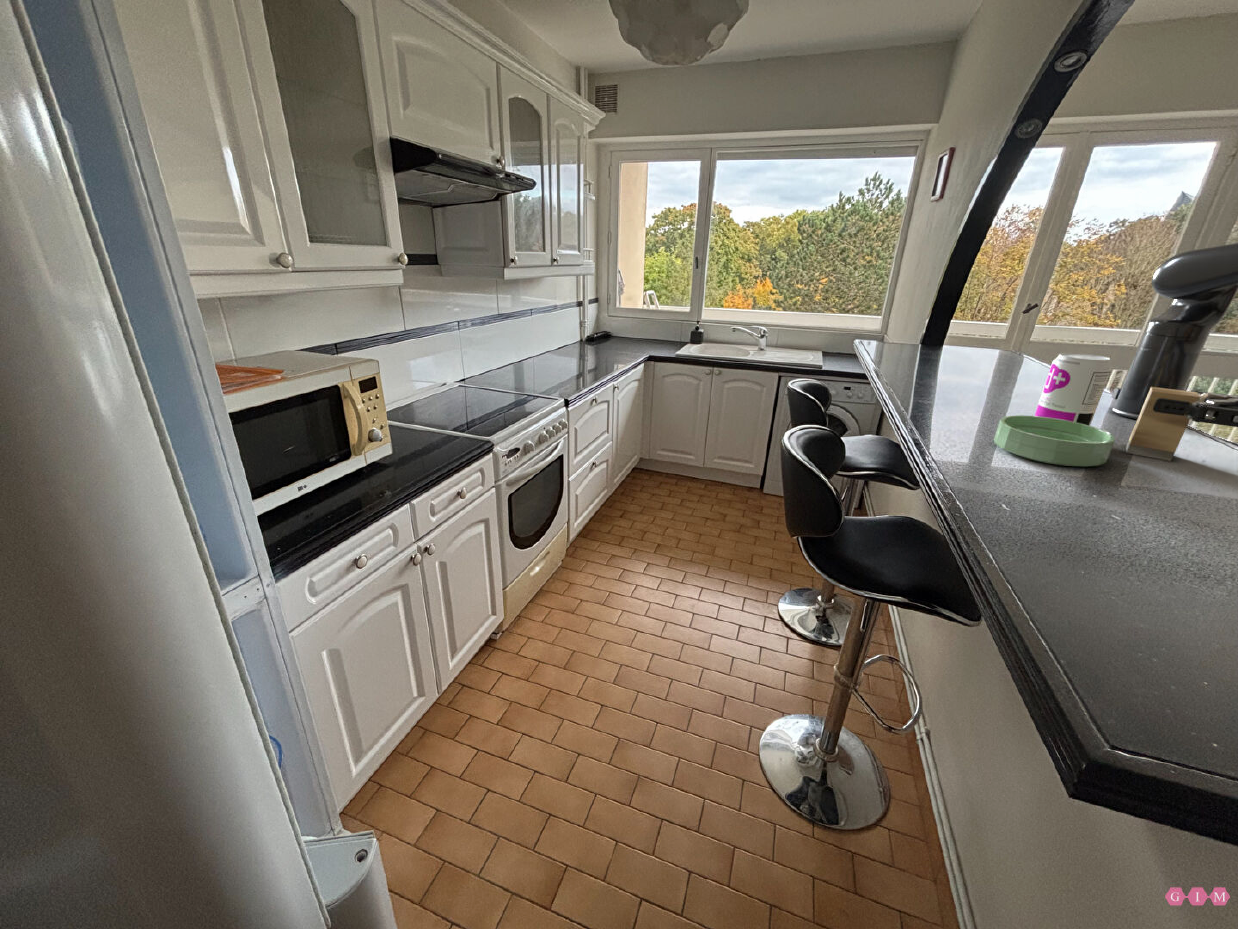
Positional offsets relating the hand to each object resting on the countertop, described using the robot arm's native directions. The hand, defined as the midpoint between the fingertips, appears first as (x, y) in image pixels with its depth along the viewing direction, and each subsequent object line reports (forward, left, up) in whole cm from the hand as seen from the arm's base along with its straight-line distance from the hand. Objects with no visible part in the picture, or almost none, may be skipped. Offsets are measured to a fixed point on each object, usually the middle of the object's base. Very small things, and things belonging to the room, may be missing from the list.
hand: (1153, 399), depth 86 cm
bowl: (+9, -14, -9) cm, 19 cm away
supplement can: (-4, -10, -9) cm, 14 cm away
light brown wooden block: (+1, +2, -9) cm, 9 cm away
